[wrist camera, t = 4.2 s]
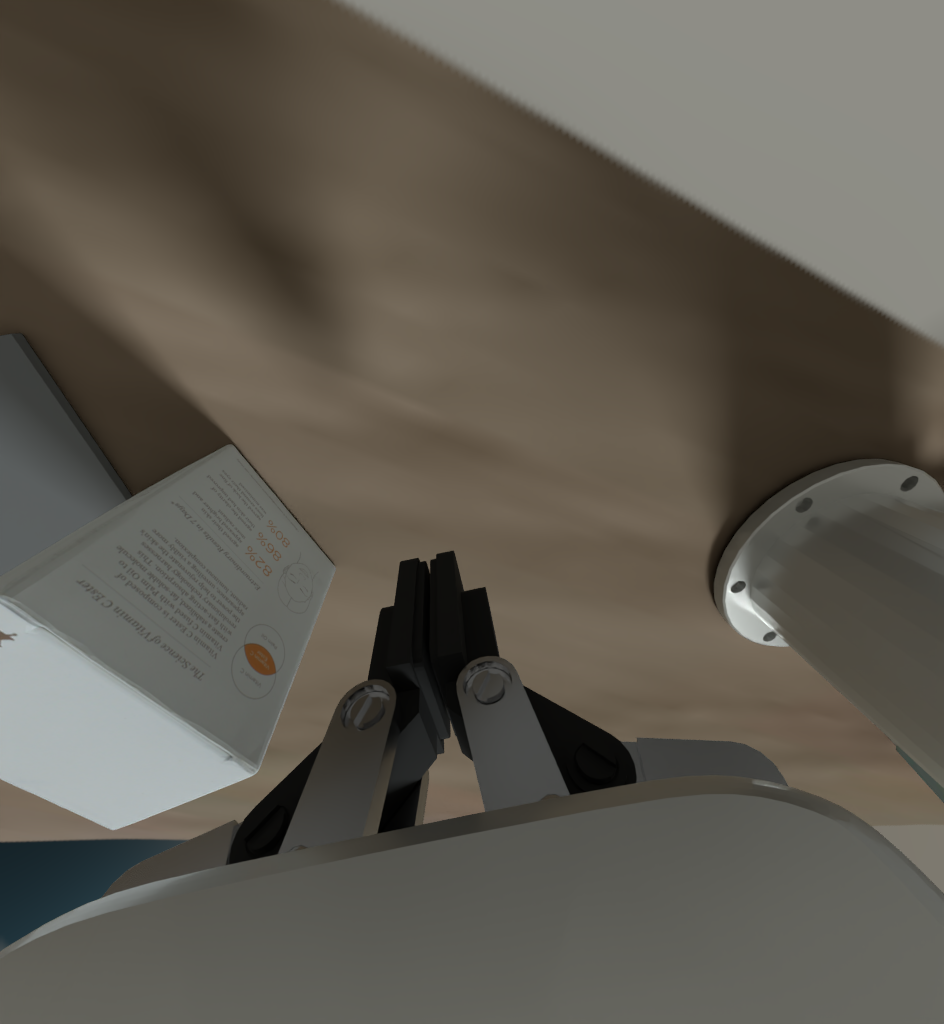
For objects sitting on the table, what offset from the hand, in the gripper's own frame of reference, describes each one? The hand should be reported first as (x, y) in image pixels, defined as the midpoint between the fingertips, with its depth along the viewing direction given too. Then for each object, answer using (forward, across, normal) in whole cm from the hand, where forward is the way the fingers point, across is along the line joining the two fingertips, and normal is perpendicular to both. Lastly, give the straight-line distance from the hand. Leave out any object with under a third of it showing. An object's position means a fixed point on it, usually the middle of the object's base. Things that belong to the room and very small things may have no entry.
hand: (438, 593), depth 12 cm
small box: (+8, +10, 0) cm, 13 cm away
